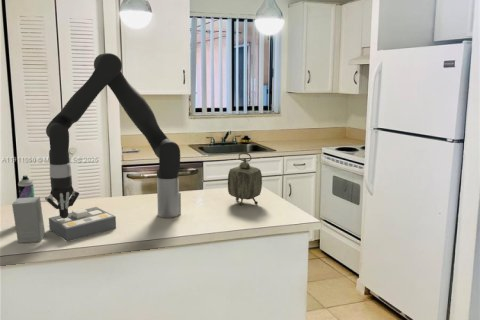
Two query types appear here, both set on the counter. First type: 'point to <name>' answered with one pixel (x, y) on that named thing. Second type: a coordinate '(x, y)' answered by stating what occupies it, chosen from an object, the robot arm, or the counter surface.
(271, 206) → the counter surface
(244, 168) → the tabletop clock
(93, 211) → the button
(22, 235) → the skincare box
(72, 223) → the button panel
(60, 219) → the button
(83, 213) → the middle button
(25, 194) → the spray can
